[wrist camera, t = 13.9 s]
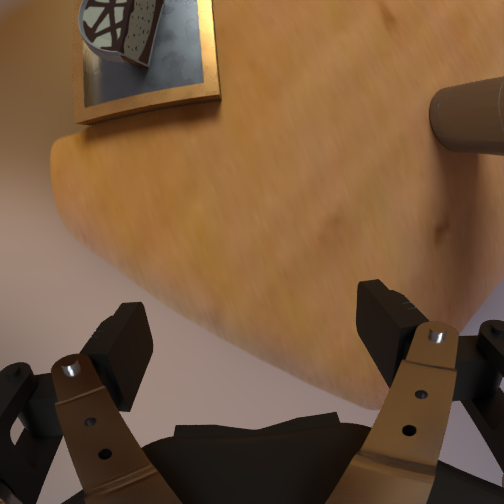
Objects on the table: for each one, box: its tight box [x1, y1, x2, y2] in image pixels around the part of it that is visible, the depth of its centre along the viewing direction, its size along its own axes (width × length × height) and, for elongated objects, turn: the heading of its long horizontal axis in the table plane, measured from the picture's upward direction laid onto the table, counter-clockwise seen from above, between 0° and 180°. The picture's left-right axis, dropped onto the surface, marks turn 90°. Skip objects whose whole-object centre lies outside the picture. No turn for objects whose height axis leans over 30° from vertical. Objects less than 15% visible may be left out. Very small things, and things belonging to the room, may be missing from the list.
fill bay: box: [72, 0, 222, 125], centre depth 30 cm, size 17×21×4 cm
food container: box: [78, 0, 165, 67], centre depth 25 cm, size 12×6×10 cm, turn 171°
